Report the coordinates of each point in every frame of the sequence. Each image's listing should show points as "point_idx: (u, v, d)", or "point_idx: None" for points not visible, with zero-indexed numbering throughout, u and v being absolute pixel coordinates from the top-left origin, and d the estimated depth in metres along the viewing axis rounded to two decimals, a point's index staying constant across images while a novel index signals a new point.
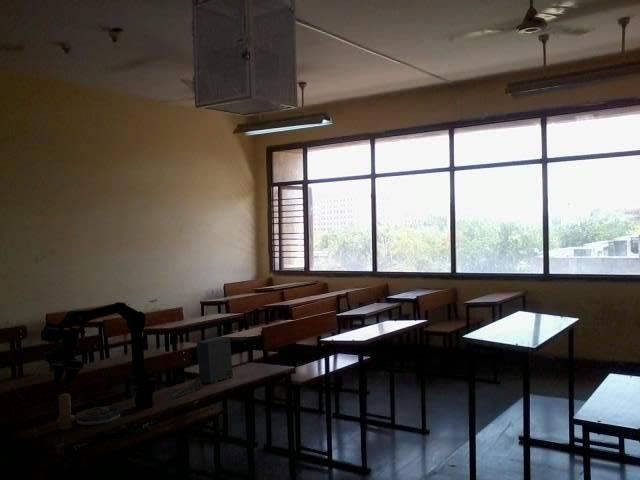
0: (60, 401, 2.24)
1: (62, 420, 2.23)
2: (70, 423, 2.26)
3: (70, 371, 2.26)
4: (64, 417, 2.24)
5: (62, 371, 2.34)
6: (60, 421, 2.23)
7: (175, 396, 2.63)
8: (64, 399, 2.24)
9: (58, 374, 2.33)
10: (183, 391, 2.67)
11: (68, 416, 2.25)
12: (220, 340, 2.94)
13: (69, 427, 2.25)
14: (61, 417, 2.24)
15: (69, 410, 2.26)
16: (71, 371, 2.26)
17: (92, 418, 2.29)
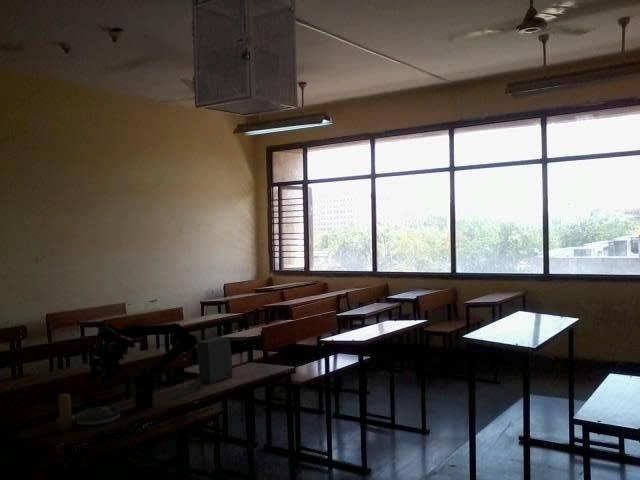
0: (60, 401, 2.24)
1: (62, 420, 2.23)
2: (70, 423, 2.26)
3: (110, 372, 2.37)
4: (64, 417, 2.24)
5: (97, 374, 2.44)
6: (60, 421, 2.23)
7: (175, 396, 2.63)
8: (64, 399, 2.24)
9: (93, 375, 2.43)
10: (183, 391, 2.67)
11: (68, 416, 2.25)
12: (220, 340, 2.94)
13: (69, 427, 2.25)
14: (61, 417, 2.24)
15: (69, 410, 2.26)
16: (111, 373, 2.37)
17: (92, 418, 2.29)
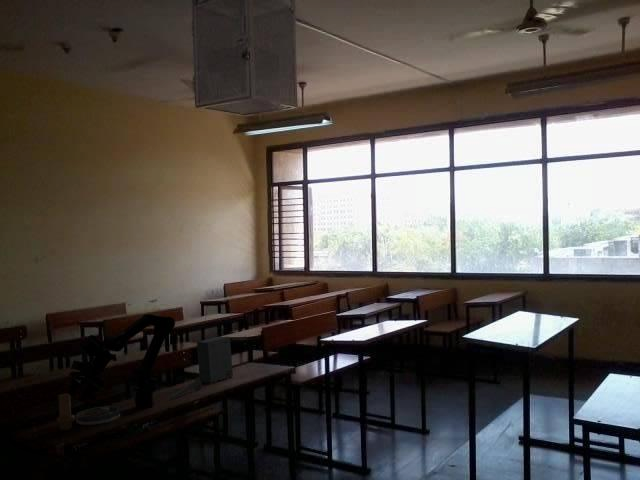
0: (60, 401, 2.24)
1: (62, 420, 2.23)
2: (70, 423, 2.26)
3: (90, 387, 2.28)
4: (64, 417, 2.24)
5: (77, 388, 2.35)
6: (60, 421, 2.23)
7: (175, 396, 2.63)
8: (64, 399, 2.24)
9: (73, 389, 2.34)
10: (183, 391, 2.67)
11: (68, 416, 2.25)
12: (220, 340, 2.94)
13: (69, 427, 2.25)
14: (61, 417, 2.24)
15: (69, 410, 2.26)
16: (91, 387, 2.28)
17: (92, 418, 2.29)
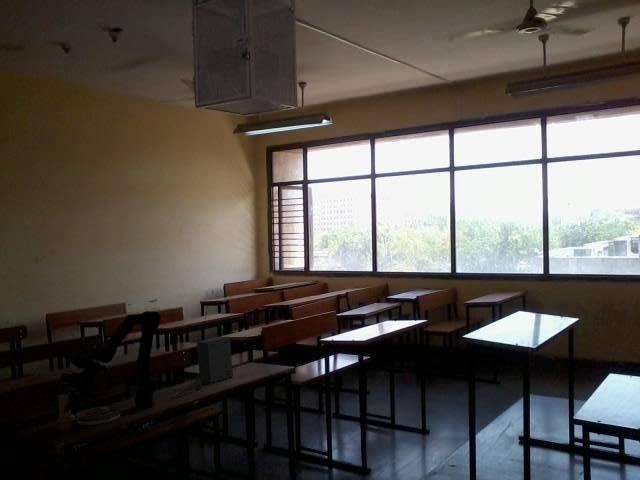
0: (60, 401, 2.24)
1: (62, 420, 2.23)
2: (70, 423, 2.26)
3: (75, 399, 2.26)
4: (64, 417, 2.24)
5: None
6: (60, 421, 2.23)
7: (175, 396, 2.62)
8: (63, 399, 2.24)
9: None
10: (183, 391, 2.67)
11: (68, 416, 2.25)
12: (220, 340, 2.94)
13: (69, 427, 2.25)
14: (61, 417, 2.24)
15: None
16: (76, 399, 2.26)
17: (92, 418, 2.29)
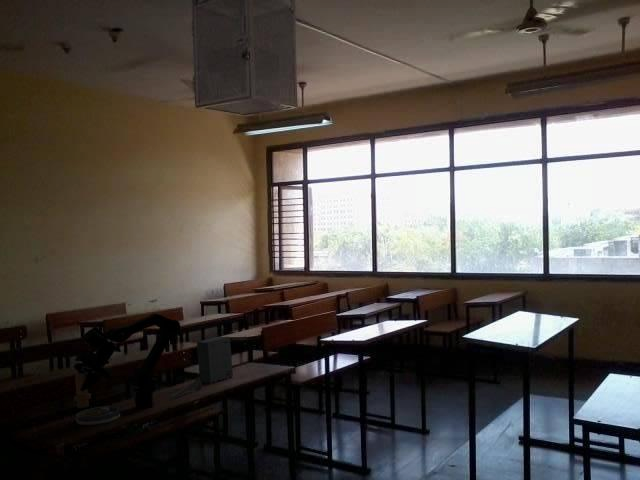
0: (77, 380, 2.30)
1: (79, 398, 2.29)
2: (87, 401, 2.32)
3: (92, 377, 2.32)
4: (81, 395, 2.30)
5: None
6: (77, 399, 2.29)
7: (175, 396, 2.62)
8: (80, 378, 2.30)
9: None
10: (183, 391, 2.67)
11: (85, 394, 2.31)
12: (220, 340, 2.94)
13: (86, 405, 2.31)
14: (78, 395, 2.30)
15: None
16: (92, 378, 2.32)
17: (92, 418, 2.29)
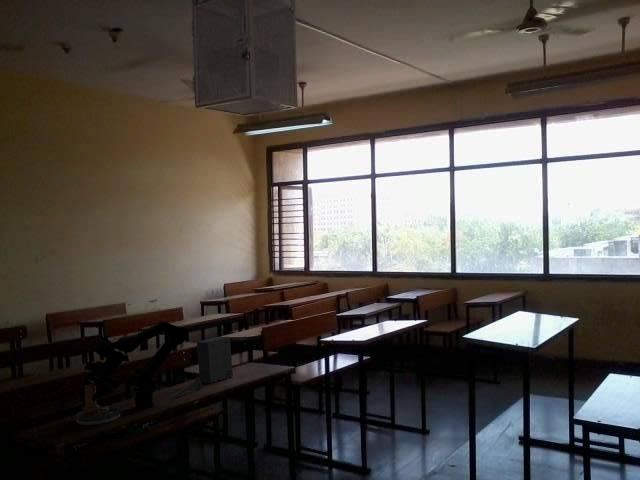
0: (86, 391, 2.33)
1: (88, 409, 2.32)
2: (95, 412, 2.34)
3: (103, 387, 2.33)
4: (90, 407, 2.33)
5: None
6: (86, 410, 2.32)
7: (175, 396, 2.62)
8: (90, 389, 2.33)
9: None
10: (183, 391, 2.67)
11: (93, 406, 2.33)
12: (220, 340, 2.94)
13: None
14: (87, 406, 2.33)
15: None
16: (104, 388, 2.33)
17: (92, 418, 2.29)
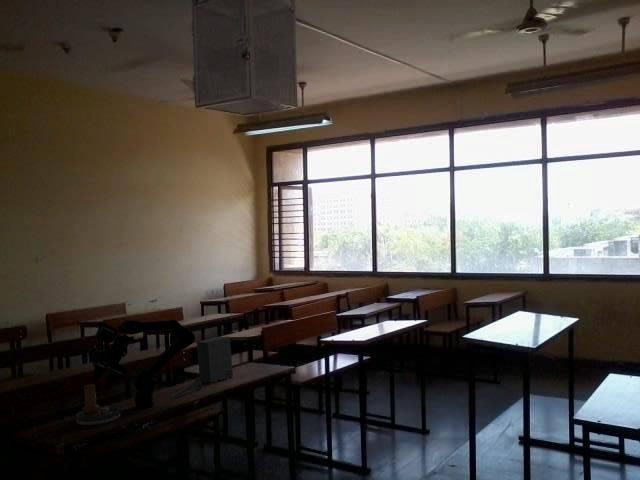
0: (86, 391, 2.33)
1: (88, 409, 2.32)
2: (95, 412, 2.34)
3: (114, 374, 2.39)
4: (89, 407, 2.33)
5: (102, 372, 2.47)
6: (86, 410, 2.32)
7: (175, 396, 2.62)
8: (89, 389, 2.33)
9: (98, 374, 2.45)
10: (183, 391, 2.67)
11: (93, 406, 2.33)
12: (220, 340, 2.94)
13: None
14: (87, 407, 2.33)
15: (94, 400, 2.34)
16: (114, 374, 2.39)
17: (92, 418, 2.29)
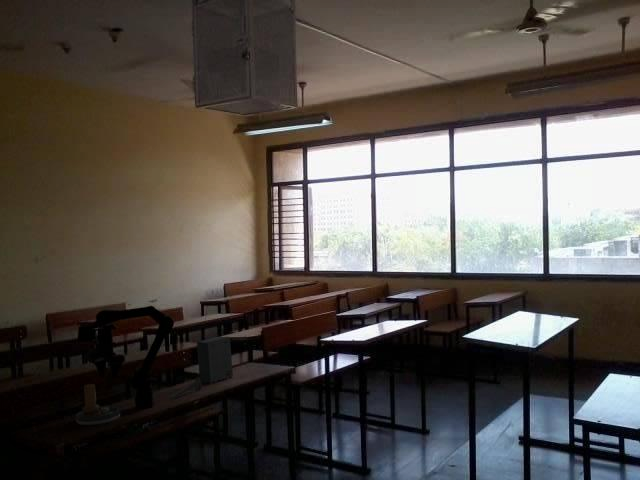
0: (86, 391, 2.33)
1: (88, 409, 2.32)
2: (95, 412, 2.34)
3: (114, 365, 2.45)
4: (90, 407, 2.33)
5: (104, 365, 2.53)
6: (86, 410, 2.32)
7: (175, 396, 2.62)
8: (89, 389, 2.33)
9: (101, 368, 2.52)
10: (183, 391, 2.67)
11: (93, 406, 2.33)
12: (220, 340, 2.94)
13: None
14: (87, 407, 2.33)
15: (94, 400, 2.34)
16: (115, 365, 2.45)
17: (92, 418, 2.29)
